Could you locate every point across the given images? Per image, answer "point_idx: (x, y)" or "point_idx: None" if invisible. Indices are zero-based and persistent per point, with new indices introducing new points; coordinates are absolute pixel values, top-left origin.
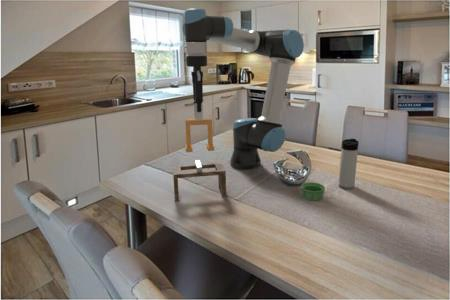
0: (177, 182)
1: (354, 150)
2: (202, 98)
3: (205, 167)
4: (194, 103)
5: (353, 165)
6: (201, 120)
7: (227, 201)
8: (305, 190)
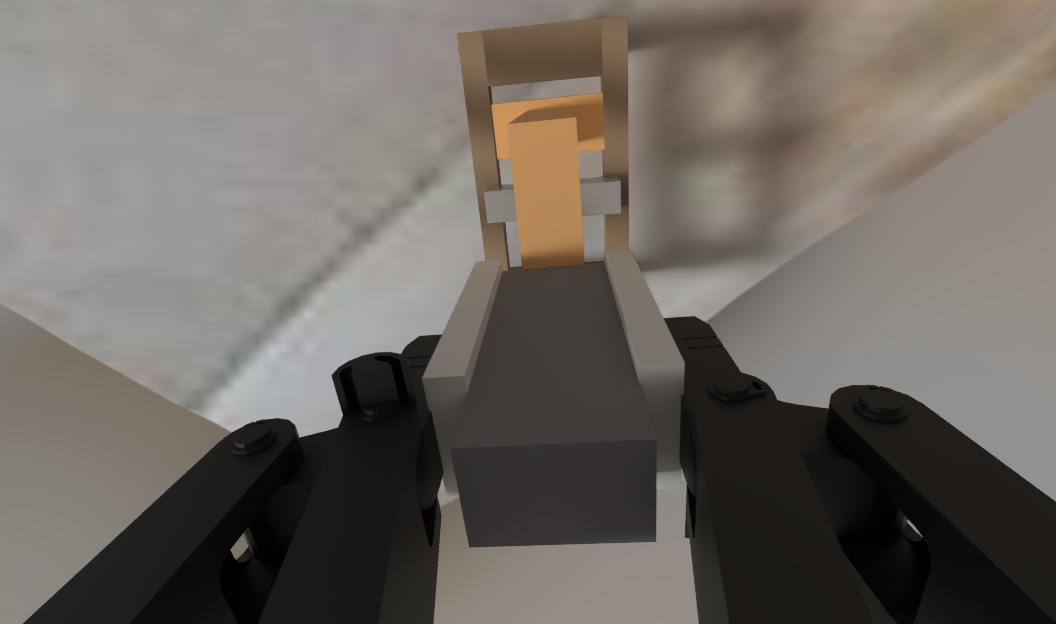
0: None
1: None
2: (967, 448)
3: (496, 150)
4: None
5: None
6: (583, 262)
7: (661, 31)
8: None
